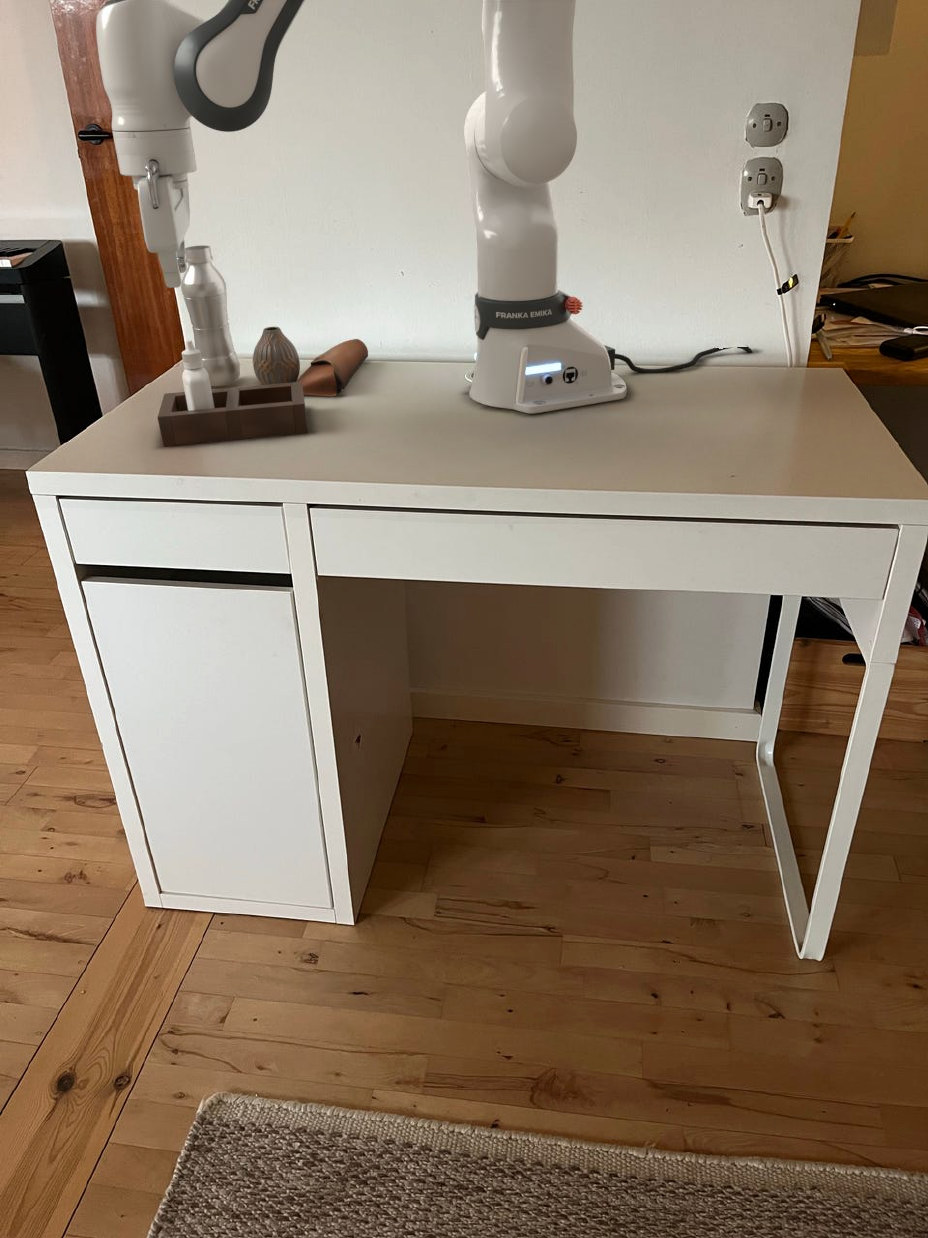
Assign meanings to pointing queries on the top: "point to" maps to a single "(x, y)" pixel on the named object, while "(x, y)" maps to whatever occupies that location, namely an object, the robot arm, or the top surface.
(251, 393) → the stand
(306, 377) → the sunglasses case
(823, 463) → the top surface
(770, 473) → the top surface
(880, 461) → the top surface
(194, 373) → the eye dropper bottle
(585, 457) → the top surface
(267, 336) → the vase
